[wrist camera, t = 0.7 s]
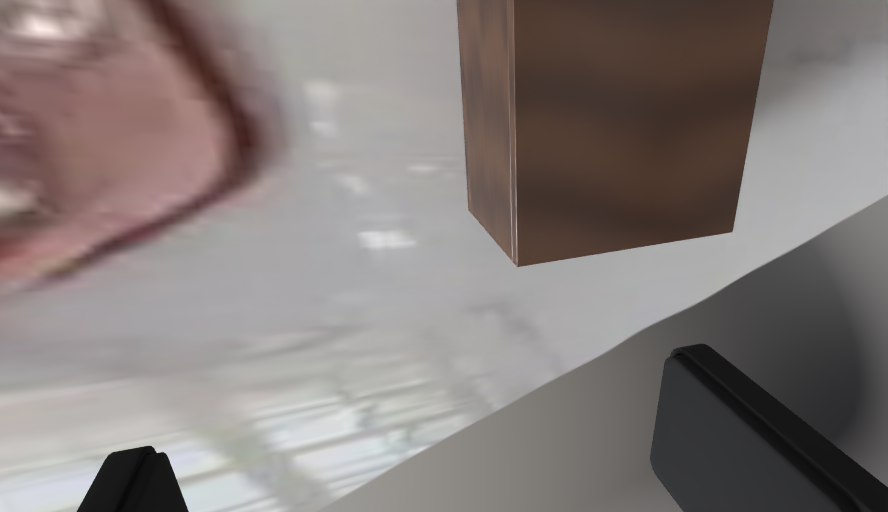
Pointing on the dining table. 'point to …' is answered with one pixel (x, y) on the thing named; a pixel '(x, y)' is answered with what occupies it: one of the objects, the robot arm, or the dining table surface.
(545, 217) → the cabinet
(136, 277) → the dining table surface
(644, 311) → the dining table surface
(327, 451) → the dining table surface
